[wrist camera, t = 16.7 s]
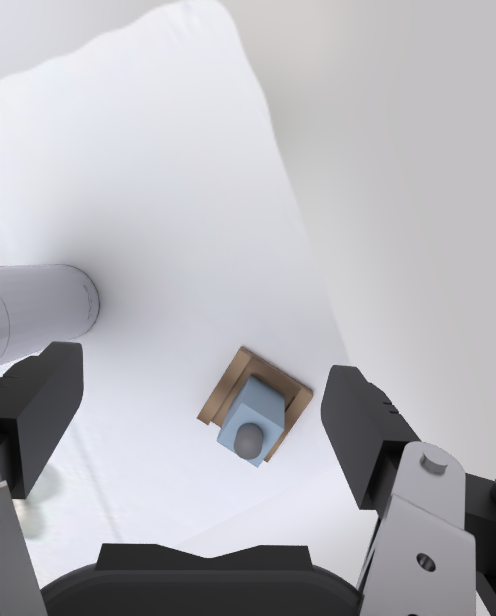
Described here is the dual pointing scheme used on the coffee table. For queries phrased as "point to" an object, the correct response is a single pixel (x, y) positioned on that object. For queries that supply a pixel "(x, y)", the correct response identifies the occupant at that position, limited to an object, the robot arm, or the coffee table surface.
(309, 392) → the slot board
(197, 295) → the coffee table surface
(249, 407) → the plug block
